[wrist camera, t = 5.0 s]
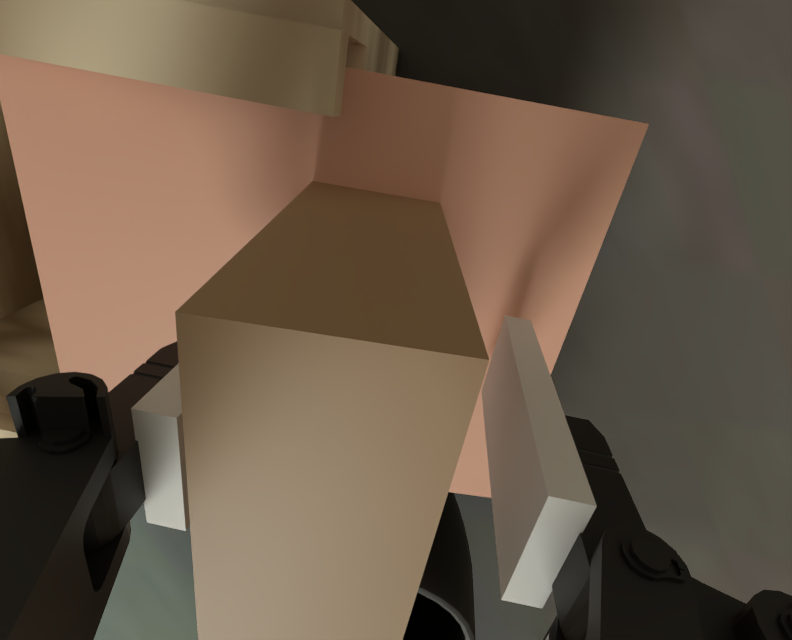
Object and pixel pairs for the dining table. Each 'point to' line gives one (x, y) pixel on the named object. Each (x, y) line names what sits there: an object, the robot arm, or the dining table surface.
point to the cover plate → (253, 159)
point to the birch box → (173, 66)
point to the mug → (445, 584)
